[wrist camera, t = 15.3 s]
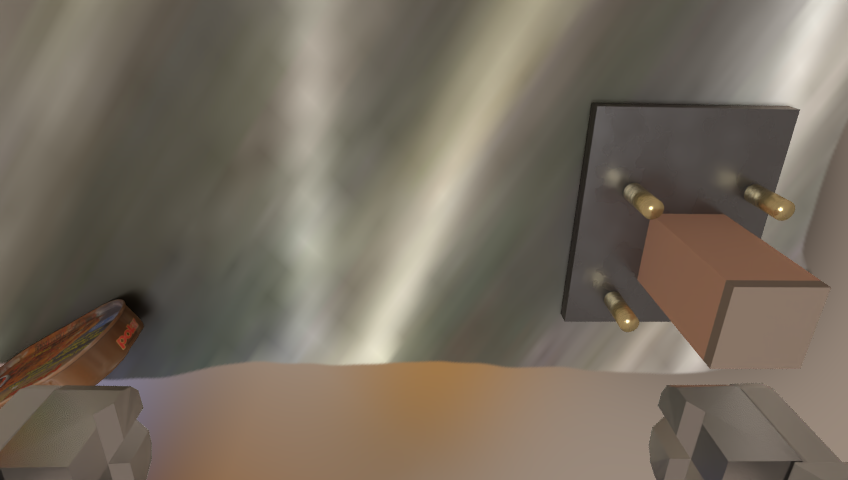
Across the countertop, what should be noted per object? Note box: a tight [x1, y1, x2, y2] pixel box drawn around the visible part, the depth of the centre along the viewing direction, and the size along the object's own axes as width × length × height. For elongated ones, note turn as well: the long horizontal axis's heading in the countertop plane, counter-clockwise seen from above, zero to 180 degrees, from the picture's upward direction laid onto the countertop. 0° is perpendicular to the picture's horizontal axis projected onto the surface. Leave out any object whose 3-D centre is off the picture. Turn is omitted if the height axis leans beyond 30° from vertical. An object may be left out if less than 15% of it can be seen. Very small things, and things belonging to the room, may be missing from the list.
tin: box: [0, 299, 144, 409], centre depth 40 cm, size 15×3×8 cm, turn 119°
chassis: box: [561, 103, 800, 332], centre depth 39 cm, size 17×14×5 cm
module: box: [637, 214, 831, 369], centre depth 36 cm, size 6×6×11 cm
